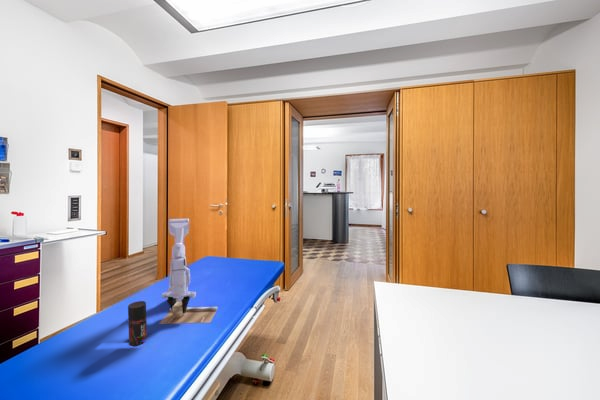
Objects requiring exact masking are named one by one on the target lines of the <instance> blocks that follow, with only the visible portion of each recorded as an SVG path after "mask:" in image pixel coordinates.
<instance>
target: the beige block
mask: <svg viewBox="0 0 600 400" xmlns="http://www.w3.org/2000/svg"><path fill="white" fill-rule="evenodd" d="M172 311H173V318H176V317H182V316H183V315H184V314H185V313H186V312H185V313H183V305H182V302H176V304H175V305H174V306H173V307H172Z"/></svg>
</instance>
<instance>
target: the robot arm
mask: <svg viewBox="0 0 600 400" xmlns="http://www.w3.org/2000/svg"><path fill="white" fill-rule="evenodd" d="M167 223H168V224H167V225H168V232H169V234H170V236H173V238H174V244H173V245H172V247H171V260H170V262H169V265H170V267H169V268H170V272H169V275H168V276H169V278H168V279H169V280H168V284H169V286H168V288H167V291H165V292H163V293H161V299H165V298H166V303H167V304H168V306H169V307H170V308H171V309H172V307H173V306H174V305H175V304H176V302H182V305H183V313H185V312H186V309H187V307H188V304H189V303H190V299H191V298H193V299H195V298H196V295H197V292H196V291H190V290H189V285H190V284H191V270H190V268H188V267H187V258H186V246H185V237H186V236H187V235H188V234H189V233H190V219H189V217H187V218H169V219H168V222H167ZM172 313H173V311H172Z"/></svg>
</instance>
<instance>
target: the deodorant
mask: <svg viewBox="0 0 600 400" xmlns="http://www.w3.org/2000/svg"><path fill="white" fill-rule="evenodd" d="M127 313H128V314H127V318H128V319H127V320H128V321H127V322H128V345H129V346H131V347H139V346H141V345H144V343H146V341H144V340H145V339H146V338H147V336H148V333H147V331H148V327H147V326H148V325H147V323H148V322H147V302H146V301H145V300H138V301H133V302H132V303H130V304H128V306H127Z"/></svg>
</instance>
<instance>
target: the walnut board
mask: <svg viewBox="0 0 600 400" xmlns="http://www.w3.org/2000/svg"><path fill="white" fill-rule="evenodd" d="M218 309H219V308H218V306H198V307H197V306H195V307H193V306H191V307H190V306H189V307H188V306H187V309H186V313H185V314H184V315H183V316H182V317H176V318H173V313H172V309H171V307H170V308H169V312H168V313H167V314H166V315H165V316H164V317H163V318H162V319H161V320H160V322H159V323H158V325H164V324H165V325H167V324H170V325H171V324H172V325H173V324H204V323H205V324H209V323H211V322H212V320H213V319H214V316H215V315H216V313H217V311H218Z"/></svg>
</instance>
